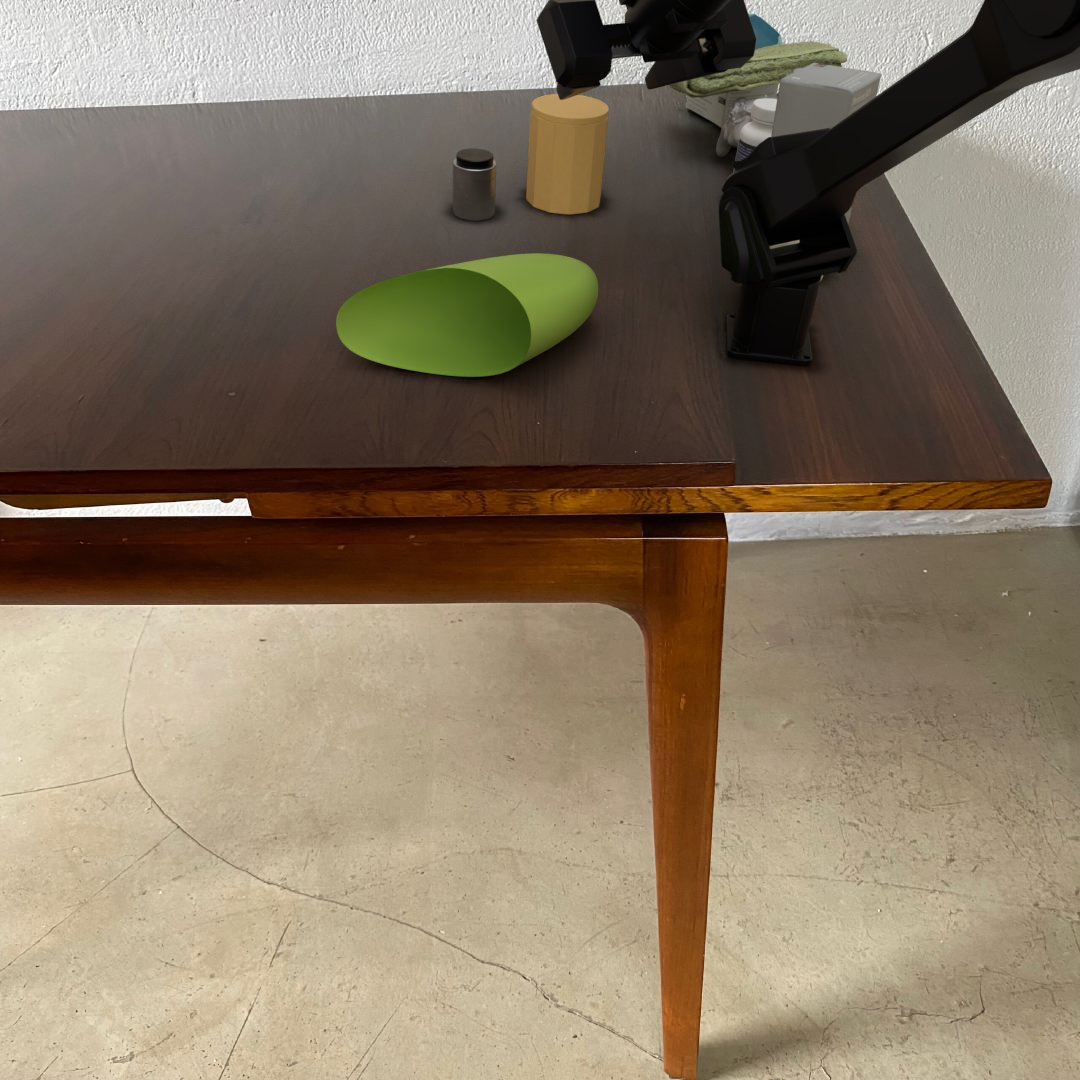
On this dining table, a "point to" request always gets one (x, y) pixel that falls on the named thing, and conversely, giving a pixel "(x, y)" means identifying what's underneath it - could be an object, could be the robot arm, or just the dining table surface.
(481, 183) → the flask
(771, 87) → the small box
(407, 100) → the dining table surface
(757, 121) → the pill bottle
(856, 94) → the cosmetic box
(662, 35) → the robot arm
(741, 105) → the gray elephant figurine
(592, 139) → the cup-cap
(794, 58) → the washcloth
